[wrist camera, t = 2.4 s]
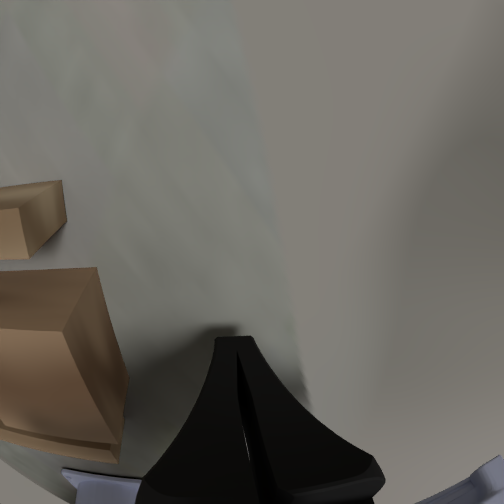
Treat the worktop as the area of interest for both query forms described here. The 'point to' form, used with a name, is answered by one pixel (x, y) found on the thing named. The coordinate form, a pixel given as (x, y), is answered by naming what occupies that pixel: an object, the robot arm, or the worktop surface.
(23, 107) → the worktop surface
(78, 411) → the brown wooden block
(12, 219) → the bay
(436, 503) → the robot arm
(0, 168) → the worktop surface
